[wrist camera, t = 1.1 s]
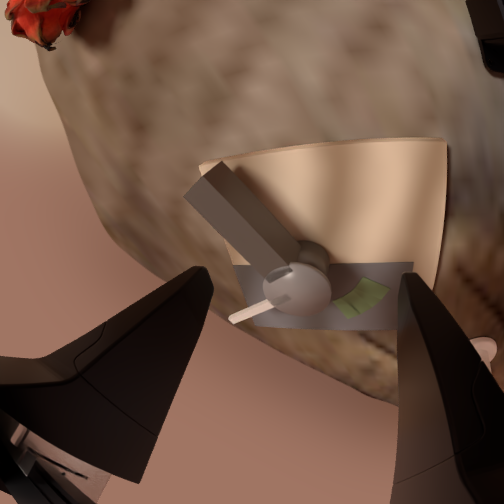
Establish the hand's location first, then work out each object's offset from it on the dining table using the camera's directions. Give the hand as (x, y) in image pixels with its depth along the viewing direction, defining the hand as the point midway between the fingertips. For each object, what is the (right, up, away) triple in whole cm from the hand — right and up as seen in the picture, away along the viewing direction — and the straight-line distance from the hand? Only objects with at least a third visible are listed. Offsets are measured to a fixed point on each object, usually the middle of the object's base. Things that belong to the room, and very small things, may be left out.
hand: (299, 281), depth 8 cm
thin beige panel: (+5, +1, +12) cm, 13 cm away
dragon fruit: (-16, +23, +3) cm, 29 cm away
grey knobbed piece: (-1, +2, +12) cm, 12 cm away
